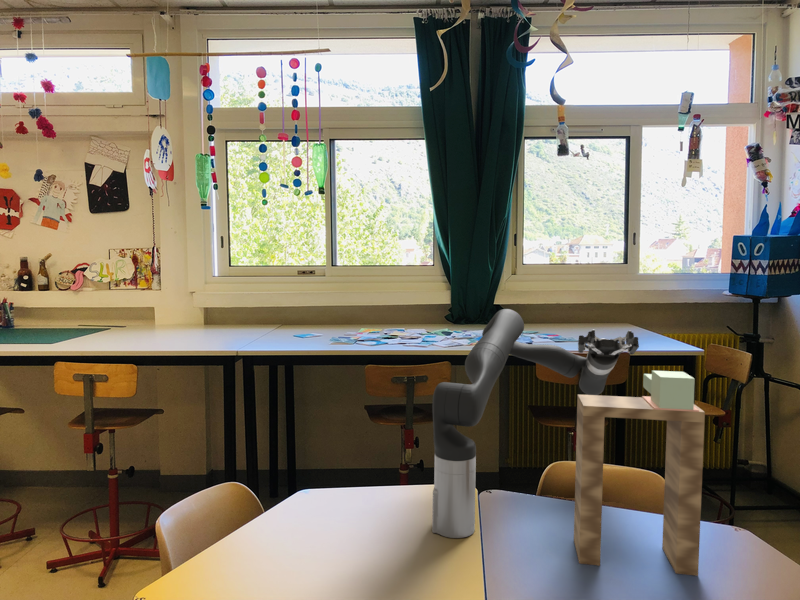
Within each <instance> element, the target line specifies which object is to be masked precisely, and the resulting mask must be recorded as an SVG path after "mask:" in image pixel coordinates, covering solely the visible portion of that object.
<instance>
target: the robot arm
mask: <svg viewBox="0 0 800 600" xmlns="http://www.w3.org/2000/svg"><path fill="white" fill-rule="evenodd" d="M524 329H525V323H524V319H523V317H522V316H521V315H520V314H519V313H518V312H517V311H515V310H513V309H510V308H503V309H500V310H498V311H497V312H496V313H495V314H494V315H493V317H492V318H491V319H490V320H489V322H488V323H487V324H486V325H485V326H484V329H483V330H482V333H481V335H482V336H481V338H480V339H479V340H478V341H477V342H476V343H475V344H474V345H473V347H472V348H471V350H470V352H469V353H468V354H467V356H466V359H465V361H464V369H465V370H464V371H465V374H466V376H467V377H468V379H469V381H470V382H471V384H470V383H469V384H467V383H458V382H457V383H456V382H450V381H449V382H447V381H443V382H440V383H437V384H436V386H435V388H434V392H433V395H432V427H433V428H432V429H433V445H434V446H433V447H434V469H433V470H434V473H433V474H434V478H433V479H434V480H433V482H434V483H433V485H434V486H433V490H432V520H431V521H432V523H431V524H432V525H431V526H432V527H431V528H432V530H431V532H432V533H434V534H438V535H441V536H442V537H446V538H449V539H450V538H451V539H462V538H467V537H469V536H471V535H473V534H474V533H475V530H476V529H475V527H476V526H475V524H476V518H475V517H476V475H477V474H476V470H477V467H476V466H477V463H476V462H477V460H476V459H477V446H476V443H475V441H474V440H473V439H471V438H470V437H469V436H466V435H464V434H463V433H461V432H460V431H458V429H456V427H455V426H458V427H459V426H460V427H466V428H468V427H469V428H470V427H474V426H477V424H479V422H480V421H481V419H482V417H483V414H484V412H485V409H486V406H487V404H488V400H489V398H490V395H491V392H492V390H493V387H494V386H495V383H496V382H497V380H498V378H499V377H500V375H501V373H502V371H503V370H504V368H505V365H506V362H507V360H508V358H509V356H513V357H516V358H519V359H522V360H525V361H528V362H532V363H535V364H538V365H540V366H543V367H546V368H547V369H550V370H551V371H553V372H556V373H558V374H560V375H562V376H564V377H566V378H569V379H570V378H571V379H572V378H574V377H576V376H577V375H578V374H579V372H580V370H581V373H580V377H579V382H578V386H579V389H580V390H581V391H582V392H583V393H584V395H600V394H601V395H602V393H603V392H604V391H605V386H606V384H607V379H608V377H609V375H610V374H611V371H612V370H614V367H615V365H616V364H617V361H618V360H619V357H620V355H621V354H622V353H623V352H627V353H628V355H634V354H635V353H636V352H637V350H638V349H639V347H640V346H639V345H640V343H639V337H638V336H635V335H634V332H632V330H628V331H627V332H626V334H625V336H619V337H616V338H610V339H608V338H604V337H603V338H599V337H598V336H596V329H591V331H588V332H587V335H586V336H584V335H579V336H578V342H577V349H578V350H577V351H578V353H580V354H582V353H584V352H585V351H587V354H586V357H585V356H581V355H578V354H575V353H574V352H570V351H569V350H567V349H565V348H564V347H562V346H558V345H555V344H554V345H553V344H532V343H531V344H530V343H523V342H520V341H517V340H518V339H519V338H520V336H521V335H522V334H523V333H524Z"/></svg>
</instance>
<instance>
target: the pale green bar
mask: <svg viewBox="0 0 800 600" xmlns="http://www.w3.org/2000/svg"><path fill="white" fill-rule="evenodd" d="M695 381H696V380H695V378H694V377H693V376H692V375H689V374H688V373H687V372H685V371H677V370H675V371H674V370H673V371H672V370H671V371H669V370H651V373H643V381H642V384H643V385H642V387H643V388H644V389H645V390H646V391H647V392H648V393H649V394H650V396H651V400H652V401H653V402H654V403H655V404H656V405H657V406H658V407H659V408H667V409H687V410H693V409H694V404H695Z"/></svg>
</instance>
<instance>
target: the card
mask: <svg viewBox="0 0 800 600" xmlns="http://www.w3.org/2000/svg"><path fill="white" fill-rule="evenodd" d="M641 397H642V398H643V399H644V400H645V401H646V402H647V403H648V404H649V405H650V406H651V407H652V408H653V409H655V410H674V411H693V412H699V410H698V409H697V408H696V407H694V409H693V410H687V409H667V408H659V407H658V406H657V405H656V404H655V403H654V402H653V401H652V400H651V395H649V396H648V395H646V396H645V395H642V396H641Z"/></svg>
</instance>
